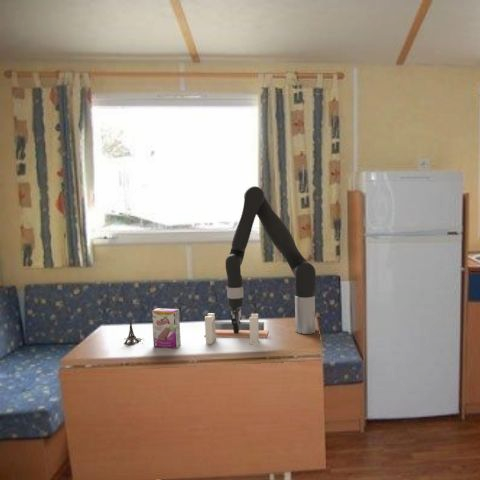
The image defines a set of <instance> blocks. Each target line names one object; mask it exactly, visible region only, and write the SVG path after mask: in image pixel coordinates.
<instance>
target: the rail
mask: <svg viewBox="0 0 480 480" xmlns="http://www.w3.org/2000/svg"><path fill="white" fill-rule="evenodd" d="M234 323H236V322H234ZM238 324H239V325H238V330H250V321H240V322H238ZM258 325H259V330H265V322H264V321H258ZM215 330H234V328H233V325H232V321H215Z"/></svg>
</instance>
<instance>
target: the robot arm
mask: <svg viewBox="0 0 480 480" xmlns="http://www.w3.org/2000/svg"><path fill="white" fill-rule="evenodd" d="M243 199H244V201H243V208H242V212H241V215H240V219H239V221H238V224H237V226H236V229H235V231H234V235H233V238H232V242H231V249H230V252H229V255H228V256H227V257H226V259H225V271H226V277H227V279H226V281H227V282H226V284H227V291H226V293H227V306H228V308H231V310H230V312H231V313H230V320H231V321H230V322H232V325H233V328H234V333H238V332H239V331H240V330H238V325H239V324H238V322H241V319H242V318H241V317H242V307H244V305H245V303H244V302H245V300H244V298H245V297H244V288H243V287H244V286H243V275H242V274H241V266H242V264H243V261H244V257H245V253H246V252H245V251H246V248H247V246H248V243H249V239H250V237H251V236H250V235H251V232H252V229H253V225H254V222H255V219H256V217H257V218H258V219H259V220H260V223H261V225H262V227H263V229H264V231H265V232H266V234H267V236H268V238H269V239H270V241H271V242H272V244H273V245H274V247H275V248H276V249H277V250H278V252H279V253H280V254H281V255H282V256H283V258H284V259H285V260H286V262H287V264H288V266H289V268H290V269H291V272H292V275H294V278H295V289H294V313H295V314H294V315H295V317H294V318H295V322H294V323H295V332H296V333H297V332H298V333H297V334H301V333H302V334H303V335H310V334H311V335H312V334H316V304H315V303H316V301H315V300H316V298H315V292H316V287H317V285H316V282H317V279H316V278H317V276H316V275H317V274H316V269H315V267H314V265H313V264H311V263H310V262H308V261H307V260H306V259H305V257H304V256H303V255H302V254H301V252H300V251H299V249H298V248H297V245H296V242H295V240H294V238H293V235H292V234H291V233H290V230H289V229H288V227H287V226H286V224H285V223H284V221H282V219H281V218H280V217H279V215H278V214H276V212H275V211H274V210H273V208H272V207H271V206H270V204H269V202H268V201H267V198H266V197H265V193H264V191H263V189H262V188H260V186H255V185H253V186H250V187H247V188H246V190H245V191H244V194H243ZM234 322H236V323H234Z"/></svg>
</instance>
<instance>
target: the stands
mask: <svg viewBox="0 0 480 480" xmlns="http://www.w3.org/2000/svg"><path fill="white" fill-rule="evenodd" d="M215 314H216V313H214V312H213V313H212V312H210V313H207V316H206V315H205V316H204V327H205V328H204V329H205V332H204V333H205V335H206V337H205V344H210V345H212V344H213V345H214V342H215V341H216V340H217V337H216V331H215V322H216V316H215ZM248 322H250V338H249V341H250V342H249V343H250V345H254V346H255V345H257V346H258V343H259V341H260V338H259V325H258V322H259V313H251V314H250V316H249V321H248Z"/></svg>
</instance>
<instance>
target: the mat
mask: <svg viewBox="0 0 480 480" xmlns="http://www.w3.org/2000/svg"><path fill="white" fill-rule="evenodd" d="M215 331H216V338H238V339H239V338H243V339H245V338H246V339H248V338H249V339H250V330H240V331H239V332H238V333H234V330H215ZM268 334H269V329H264V330H259V339H267V337H268ZM203 336H204V338H206V334H205V335H203Z"/></svg>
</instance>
